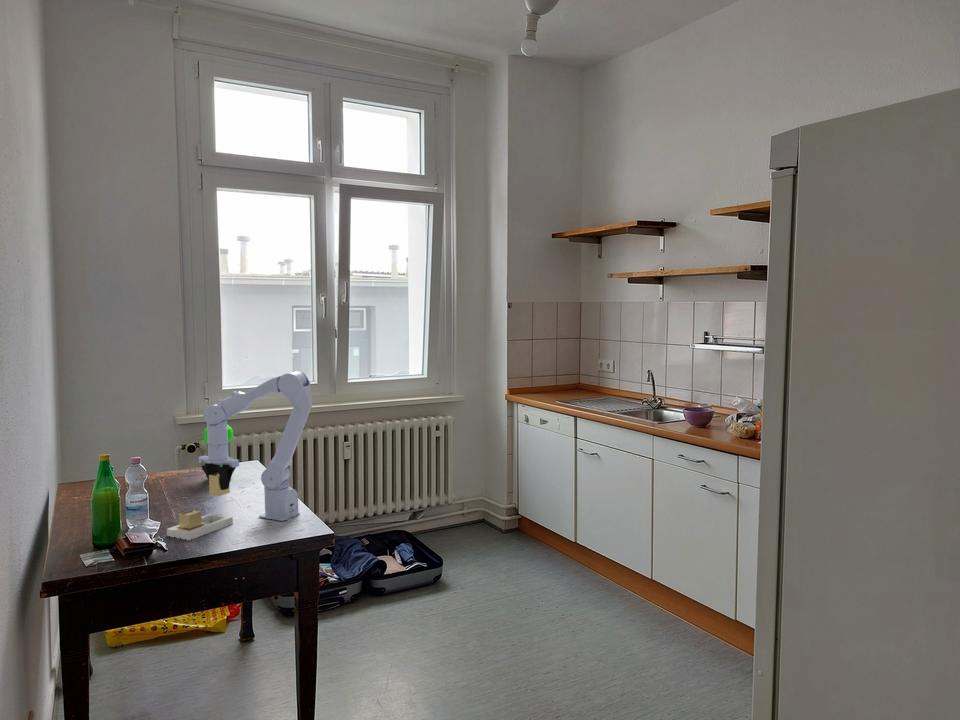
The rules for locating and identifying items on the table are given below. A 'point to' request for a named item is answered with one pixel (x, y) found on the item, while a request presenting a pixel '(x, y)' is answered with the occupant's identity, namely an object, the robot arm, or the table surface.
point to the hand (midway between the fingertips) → (219, 488)
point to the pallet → (205, 528)
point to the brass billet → (216, 485)
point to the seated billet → (189, 520)
